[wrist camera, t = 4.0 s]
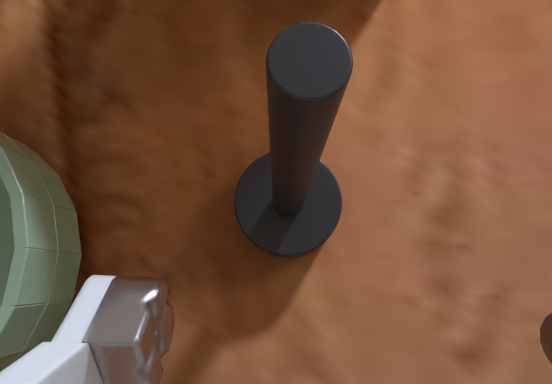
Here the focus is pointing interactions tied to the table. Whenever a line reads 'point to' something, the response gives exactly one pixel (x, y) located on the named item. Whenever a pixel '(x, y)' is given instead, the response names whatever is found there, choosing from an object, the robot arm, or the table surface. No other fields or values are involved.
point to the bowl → (33, 251)
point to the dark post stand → (296, 144)
